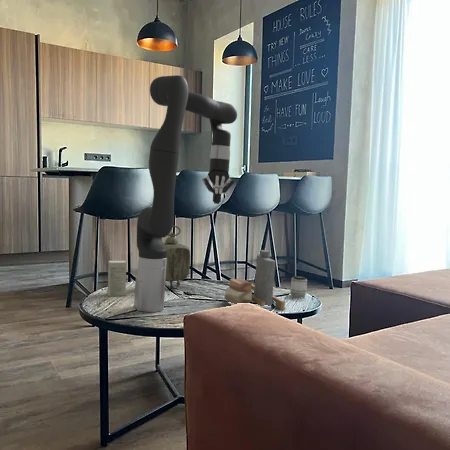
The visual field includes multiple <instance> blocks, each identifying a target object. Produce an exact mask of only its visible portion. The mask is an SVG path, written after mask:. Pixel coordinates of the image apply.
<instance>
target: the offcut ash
mask: <svg viewBox="0 0 450 450" xmlns="http://www.w3.org/2000/svg"><path fill="white" fill-rule="evenodd" d="M225 295H226V296H228V297H230V298H232V299H234V300H236V301H243V300H252V295H253V294H252V291H249V292H238V291H236V290H234V289H232V288H230V287H229V286H227V287H226V289H225Z"/></svg>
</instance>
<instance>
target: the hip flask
mask: <svg viewBox="0 0 450 450" xmlns="http://www.w3.org/2000/svg"><path fill="white" fill-rule="evenodd" d="M270 253H271V252H270V250H268V249H267V250H266V249H265V250H264V249H260V250H259V253H257V254H256V265H255V274H254V276H255V277H254V285H255V286H254V294H253V295H254V296H255V297H257V298H259V299H261V300H262V301H264V302H265V305H268V306H270V305H272V297H273V295H274V285H275V284H274V283H275V272H276V259H275V260H274V259H272V258H270V257H269V256H270ZM272 306H273V305H272Z"/></svg>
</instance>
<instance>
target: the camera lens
mask: <svg viewBox="0 0 450 450" xmlns="http://www.w3.org/2000/svg"><path fill="white" fill-rule="evenodd" d="M307 286H308V279H307V278H306V277H304V276H300V275H295V276H292V277H291V281H290V296H291V297H293V298H297V299H303V298H305V297H306V295H307Z"/></svg>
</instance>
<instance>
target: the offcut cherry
mask: <svg viewBox="0 0 450 450" xmlns="http://www.w3.org/2000/svg"><path fill="white" fill-rule="evenodd" d="M252 284H253V282H250V281H248V280H246V279H244V278H232V279H229V285H228V287H230V288H232V289H234V290H236V291H238V292H249V291H251V285H252Z"/></svg>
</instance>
